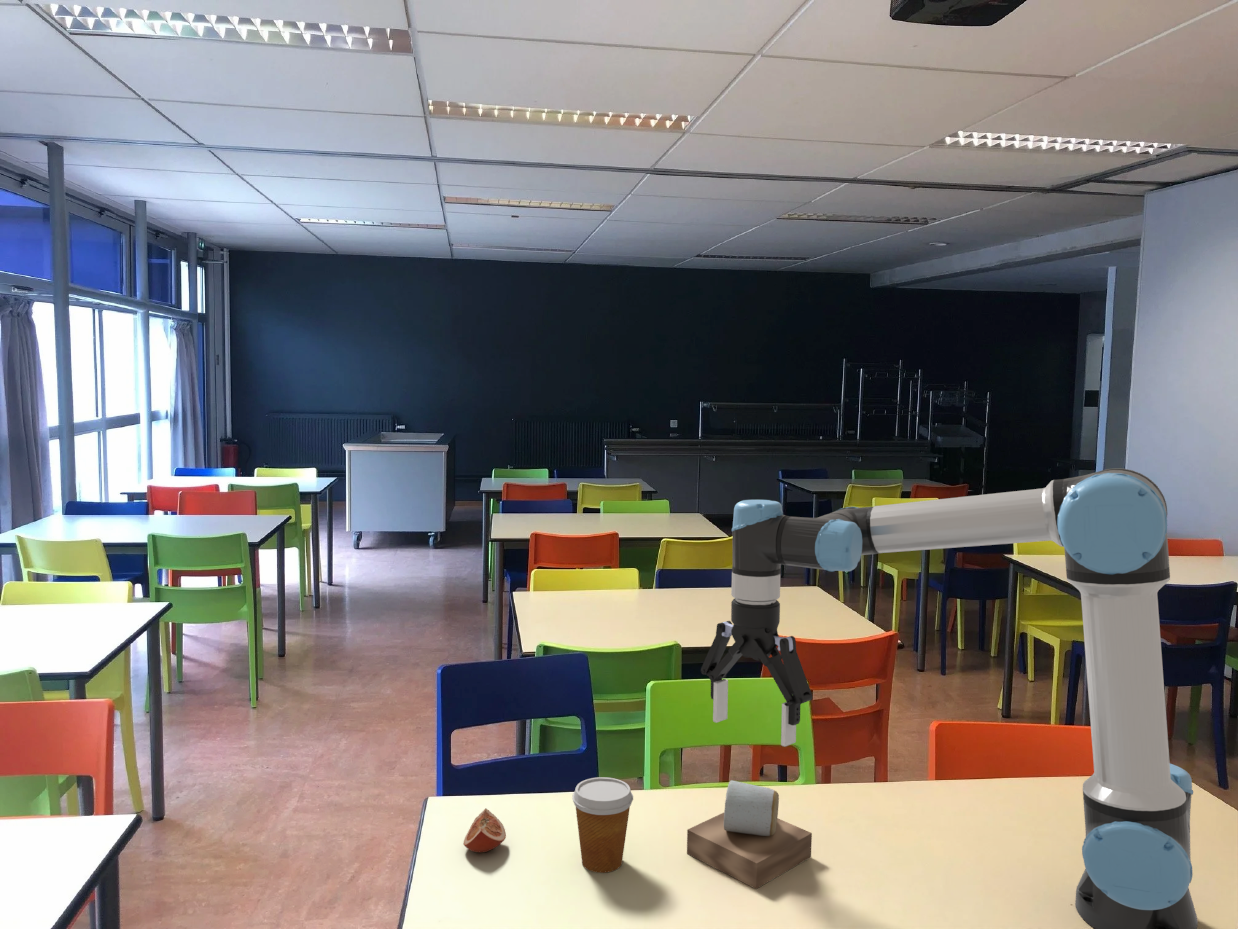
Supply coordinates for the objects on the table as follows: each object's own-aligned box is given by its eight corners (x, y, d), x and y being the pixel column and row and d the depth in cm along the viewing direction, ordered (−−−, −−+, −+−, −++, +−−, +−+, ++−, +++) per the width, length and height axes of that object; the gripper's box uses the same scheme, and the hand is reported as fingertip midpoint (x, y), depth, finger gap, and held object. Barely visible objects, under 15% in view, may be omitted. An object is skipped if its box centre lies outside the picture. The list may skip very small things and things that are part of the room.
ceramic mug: (775, 846, 143) (776, 797, 142) (722, 839, 145) (723, 791, 144) (779, 816, 153) (781, 771, 152) (730, 810, 155) (731, 765, 154)
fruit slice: (467, 835, 153) (467, 806, 153) (508, 835, 153) (508, 806, 153) (460, 861, 145) (460, 831, 144) (503, 861, 145) (503, 831, 145)
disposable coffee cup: (579, 882, 139) (580, 805, 138) (565, 851, 148) (566, 779, 147) (639, 874, 142) (641, 799, 141) (623, 844, 151) (624, 773, 150)
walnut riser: (811, 857, 147) (811, 833, 147) (756, 889, 138) (756, 863, 138) (742, 826, 158) (743, 803, 157) (686, 853, 148) (687, 829, 148)
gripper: (837, 609, 138) (834, 748, 139) (711, 583, 156) (709, 706, 158) (808, 617, 133) (804, 761, 134) (680, 589, 151) (679, 716, 152)
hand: (753, 731), depth 146 cm, fingers open, 13 cm apart
